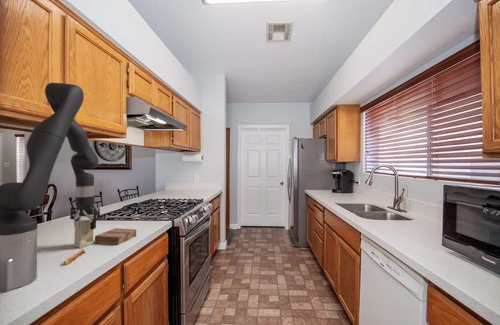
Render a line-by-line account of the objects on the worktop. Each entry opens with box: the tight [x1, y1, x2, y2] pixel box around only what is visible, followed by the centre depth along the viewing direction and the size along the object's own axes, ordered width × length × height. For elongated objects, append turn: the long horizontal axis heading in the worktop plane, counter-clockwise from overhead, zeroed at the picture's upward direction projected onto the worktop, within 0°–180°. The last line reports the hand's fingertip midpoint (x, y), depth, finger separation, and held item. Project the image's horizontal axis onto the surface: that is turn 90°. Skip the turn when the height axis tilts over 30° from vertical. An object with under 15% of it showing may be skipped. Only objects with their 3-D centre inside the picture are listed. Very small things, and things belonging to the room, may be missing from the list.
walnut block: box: [94, 227, 137, 246], centre depth 114 cm, size 13×13×4 cm
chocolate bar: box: [61, 248, 86, 266], centre depth 91 cm, size 3×12×2 cm, turn 9°
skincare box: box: [73, 218, 94, 249], centre depth 106 cm, size 6×4×12 cm
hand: (85, 228), depth 106 cm, fingers open, 8 cm apart
